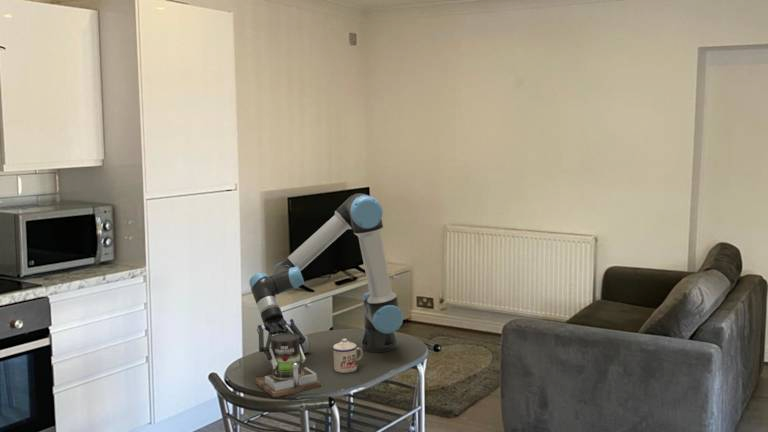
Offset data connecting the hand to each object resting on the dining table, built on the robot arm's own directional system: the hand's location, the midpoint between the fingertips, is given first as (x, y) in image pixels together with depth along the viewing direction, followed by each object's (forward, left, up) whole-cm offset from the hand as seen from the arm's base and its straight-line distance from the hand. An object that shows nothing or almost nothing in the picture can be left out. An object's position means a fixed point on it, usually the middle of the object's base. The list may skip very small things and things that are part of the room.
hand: (289, 363), depth 271 cm
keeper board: (+2, -2, -8) cm, 9 cm away
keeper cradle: (-1, +1, -7) cm, 7 cm away
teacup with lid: (-16, -21, -9) cm, 28 cm away
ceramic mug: (+10, -38, -9) cm, 40 cm away
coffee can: (+2, -2, -5) cm, 6 cm away
